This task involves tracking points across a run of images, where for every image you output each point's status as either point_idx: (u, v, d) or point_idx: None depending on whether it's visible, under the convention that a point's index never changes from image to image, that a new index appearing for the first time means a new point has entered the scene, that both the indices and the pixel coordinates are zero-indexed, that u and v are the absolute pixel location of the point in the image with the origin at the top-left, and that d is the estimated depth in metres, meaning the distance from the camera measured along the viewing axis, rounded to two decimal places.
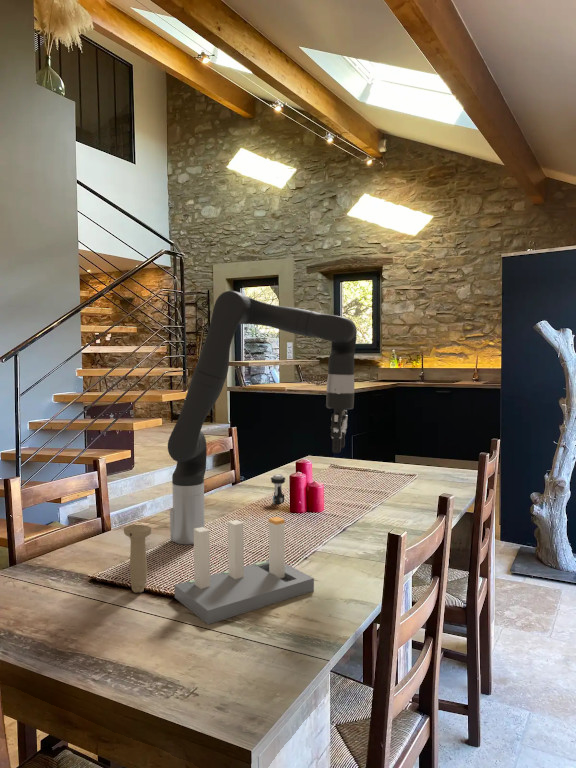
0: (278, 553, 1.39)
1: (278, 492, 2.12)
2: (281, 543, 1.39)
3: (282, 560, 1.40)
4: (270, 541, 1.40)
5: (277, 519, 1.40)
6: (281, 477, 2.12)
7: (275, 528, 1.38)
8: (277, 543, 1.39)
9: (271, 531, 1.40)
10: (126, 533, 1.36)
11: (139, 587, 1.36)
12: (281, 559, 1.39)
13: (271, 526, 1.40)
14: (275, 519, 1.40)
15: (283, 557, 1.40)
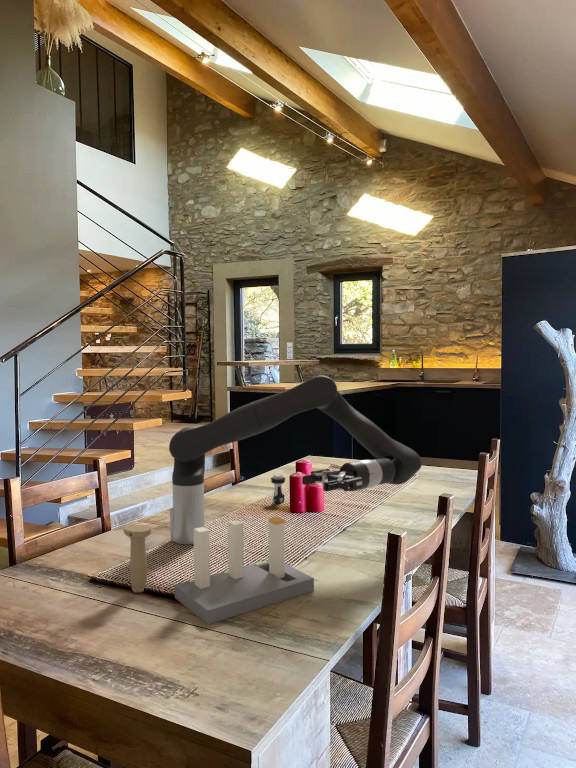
0: (278, 553, 1.39)
1: (278, 492, 2.12)
2: (281, 543, 1.39)
3: (282, 560, 1.40)
4: (270, 541, 1.40)
5: (277, 519, 1.40)
6: (281, 477, 2.12)
7: (275, 528, 1.38)
8: (277, 543, 1.39)
9: (271, 531, 1.40)
10: (126, 533, 1.36)
11: (139, 587, 1.36)
12: (281, 559, 1.39)
13: (271, 526, 1.40)
14: (275, 519, 1.40)
15: (283, 557, 1.40)
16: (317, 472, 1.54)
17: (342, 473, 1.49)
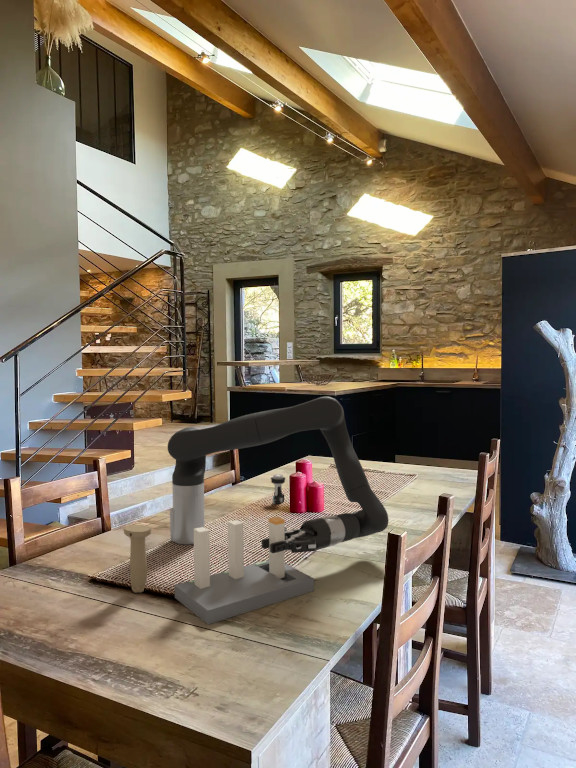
0: (278, 553, 1.39)
1: (278, 492, 2.12)
2: None
3: (282, 560, 1.40)
4: (270, 541, 1.40)
5: (277, 519, 1.40)
6: (281, 477, 2.12)
7: (275, 528, 1.38)
8: None
9: (271, 531, 1.40)
10: (126, 533, 1.36)
11: (139, 587, 1.36)
12: (281, 559, 1.39)
13: (271, 526, 1.40)
14: (275, 519, 1.40)
15: (283, 557, 1.40)
16: None
17: (300, 533, 1.43)
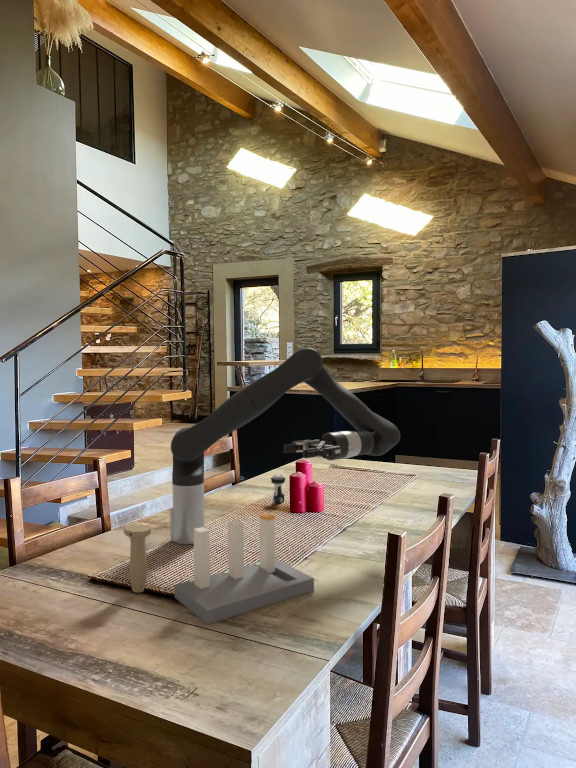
0: (269, 548, 1.42)
1: (278, 492, 2.12)
2: (271, 538, 1.42)
3: (272, 556, 1.43)
4: (261, 537, 1.44)
5: (268, 515, 1.43)
6: (281, 477, 2.12)
7: (266, 524, 1.41)
8: (267, 538, 1.42)
9: (262, 527, 1.43)
10: (126, 533, 1.36)
11: (139, 587, 1.36)
12: (271, 554, 1.43)
13: (262, 522, 1.43)
14: (266, 515, 1.43)
15: (273, 552, 1.43)
16: (298, 442, 1.60)
17: (322, 442, 1.55)
